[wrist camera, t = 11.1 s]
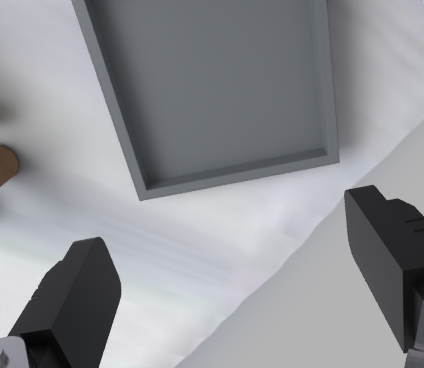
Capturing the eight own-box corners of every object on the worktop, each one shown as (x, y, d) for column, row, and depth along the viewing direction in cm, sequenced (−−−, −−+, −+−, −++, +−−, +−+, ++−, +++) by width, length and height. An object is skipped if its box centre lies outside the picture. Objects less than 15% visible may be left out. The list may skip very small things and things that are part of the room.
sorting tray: (77, -16, 33) (65, -17, 31) (310, -76, 31) (319, -83, 29) (144, 187, 42) (139, 201, 39) (331, 151, 40) (339, 162, 37)
